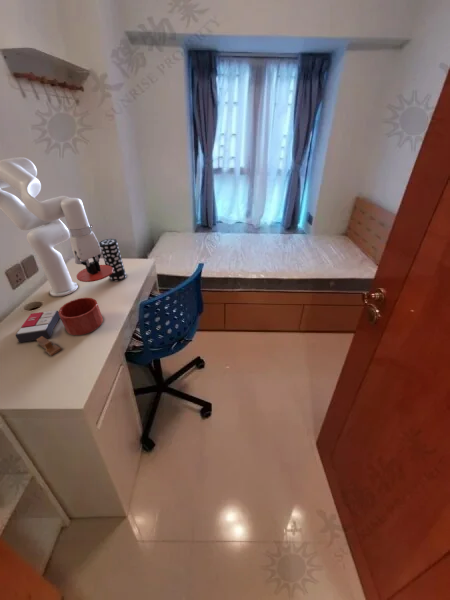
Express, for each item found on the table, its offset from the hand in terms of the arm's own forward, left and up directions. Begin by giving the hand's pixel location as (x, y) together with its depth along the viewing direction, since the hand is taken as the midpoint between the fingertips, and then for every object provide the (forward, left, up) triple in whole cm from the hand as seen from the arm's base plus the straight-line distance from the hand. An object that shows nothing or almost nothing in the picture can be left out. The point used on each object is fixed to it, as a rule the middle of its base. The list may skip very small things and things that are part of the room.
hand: (94, 271), depth 122 cm
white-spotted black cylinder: (-12, +18, -15) cm, 26 cm away
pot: (+8, -16, -15) cm, 23 cm away
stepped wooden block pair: (+9, -32, -15) cm, 36 cm away
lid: (0, 0, -1) cm, 1 cm away
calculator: (-5, -27, -15) cm, 31 cm away
